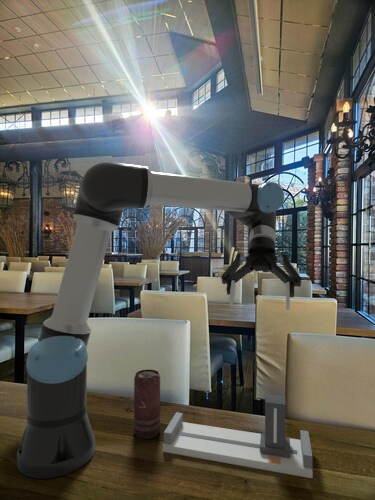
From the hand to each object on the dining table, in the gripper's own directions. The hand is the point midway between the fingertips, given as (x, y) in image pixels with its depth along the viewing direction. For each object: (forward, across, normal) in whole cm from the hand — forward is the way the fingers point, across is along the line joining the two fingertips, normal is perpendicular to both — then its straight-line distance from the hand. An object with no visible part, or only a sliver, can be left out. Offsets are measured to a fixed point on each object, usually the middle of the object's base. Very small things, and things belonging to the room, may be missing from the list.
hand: (258, 305), depth 80 cm
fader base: (+28, +4, -13) cm, 32 cm away
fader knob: (+27, -4, -12) cm, 30 cm away
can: (+28, +25, -14) cm, 40 cm away
